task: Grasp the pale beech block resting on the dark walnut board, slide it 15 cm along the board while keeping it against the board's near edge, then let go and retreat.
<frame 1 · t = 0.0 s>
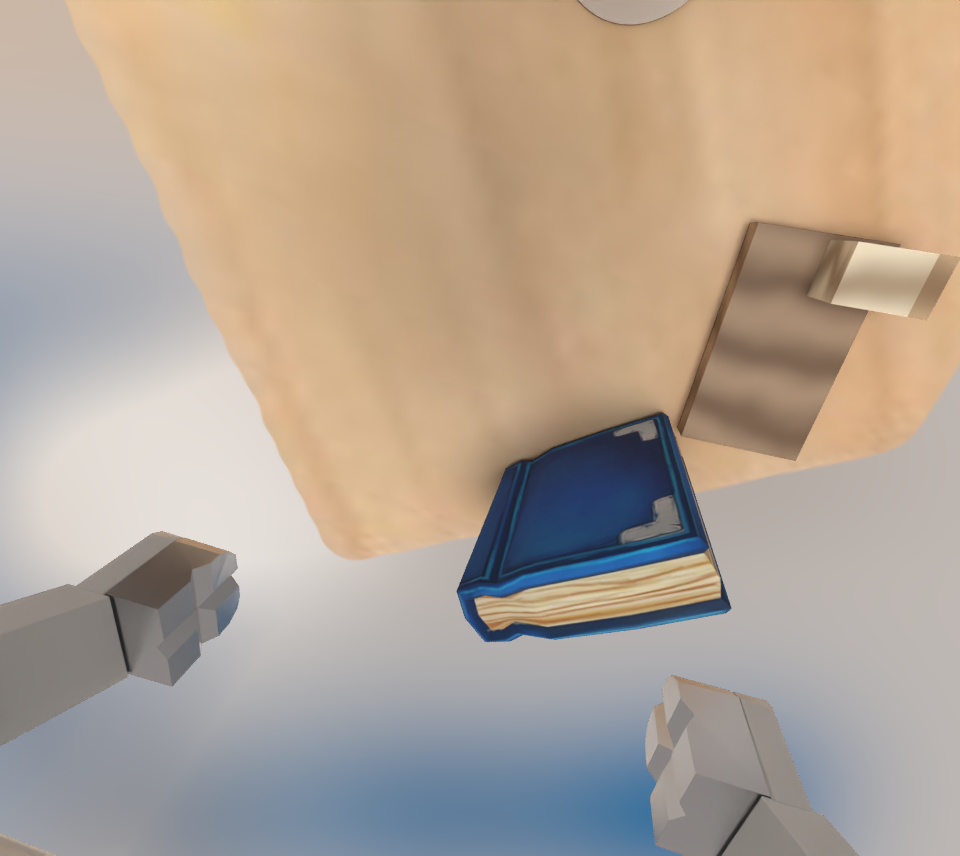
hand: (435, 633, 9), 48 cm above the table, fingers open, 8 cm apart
board: (769, 345, 50), on the table
book: (585, 461, 59), on the table
block: (864, 276, 43), point 2 cm above the table, touching board
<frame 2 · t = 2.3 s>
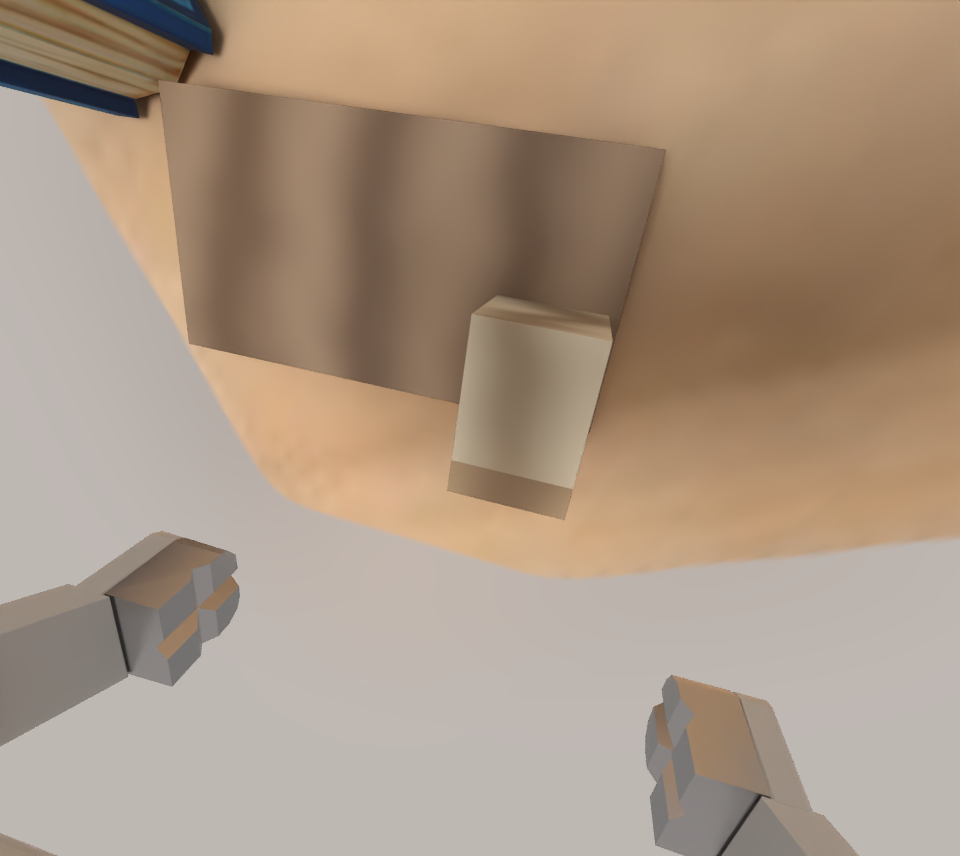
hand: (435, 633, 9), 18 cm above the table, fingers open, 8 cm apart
board: (403, 260, 24), on the table
block: (534, 389, 23), point 2 cm above the table, touching board
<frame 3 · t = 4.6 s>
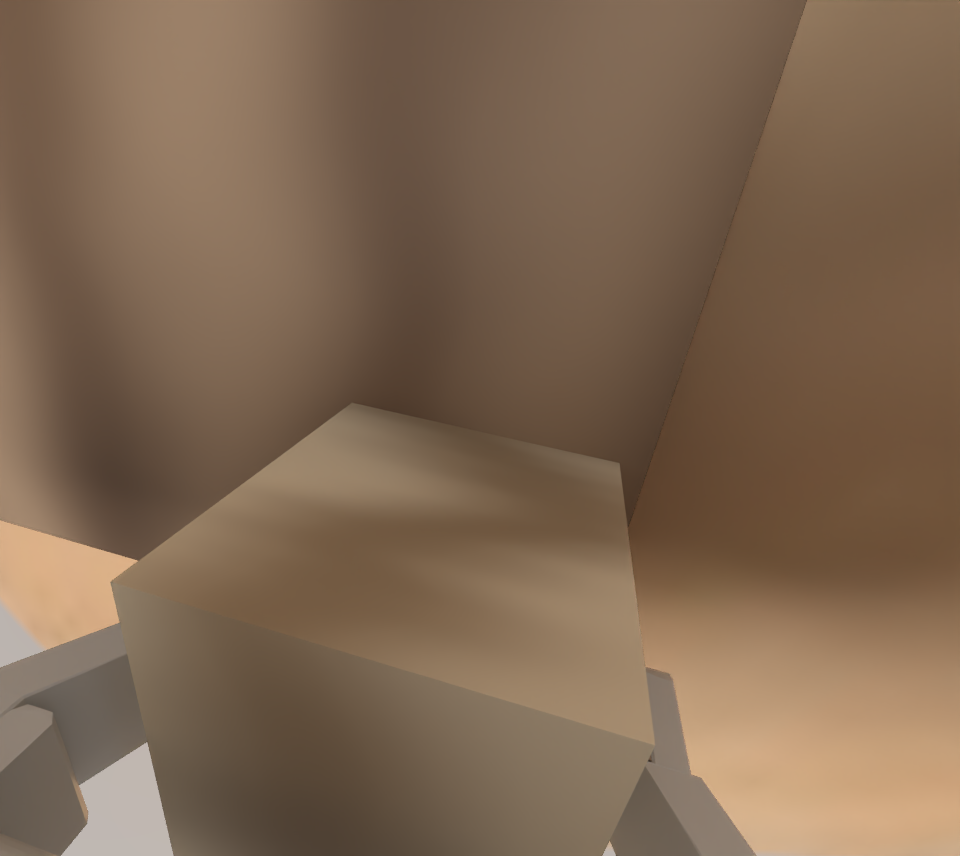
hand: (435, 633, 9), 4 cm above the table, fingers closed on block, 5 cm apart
board: (190, 307, 12), on the table
block: (453, 597, 10), point 2 cm above the table, touching board, gripper
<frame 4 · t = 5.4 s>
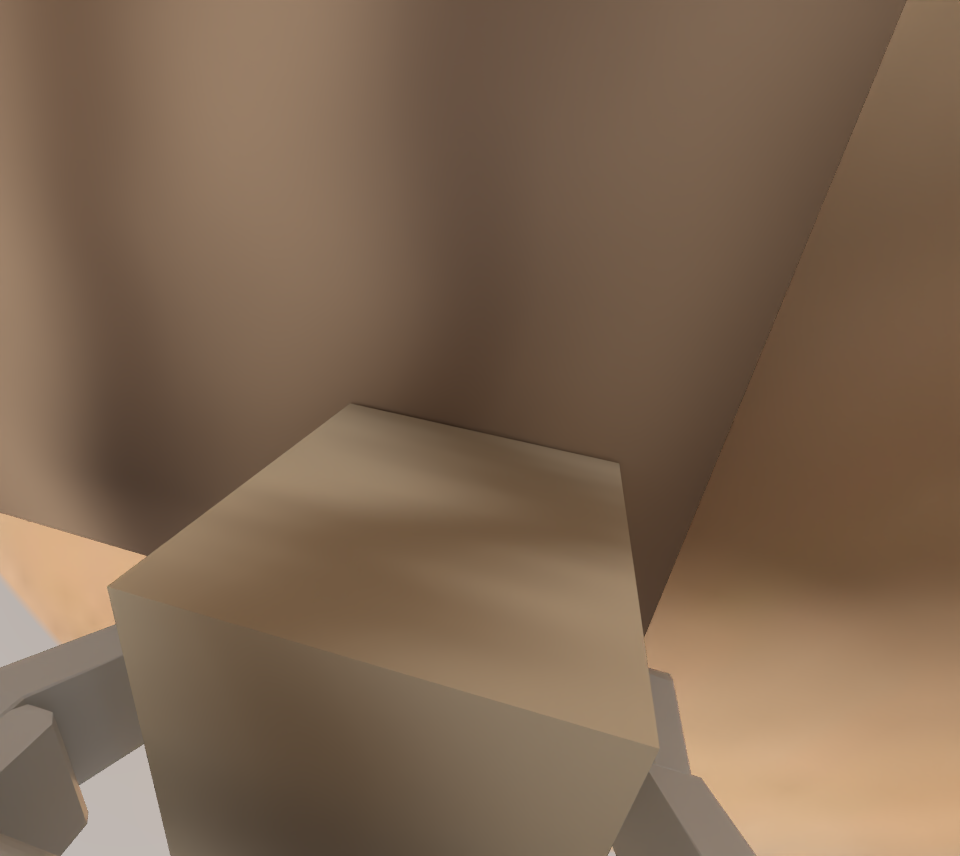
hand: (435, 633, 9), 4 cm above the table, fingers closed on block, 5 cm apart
board: (228, 307, 12), on the table
block: (452, 598, 10), point 3 cm above the table, touching gripper
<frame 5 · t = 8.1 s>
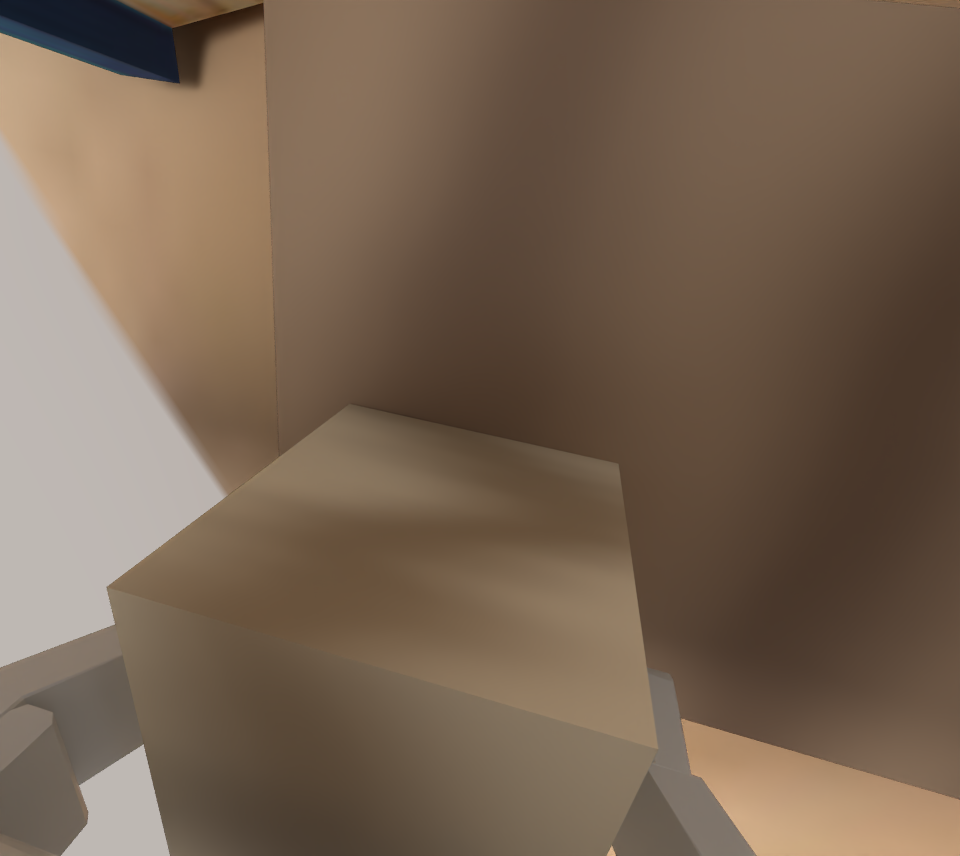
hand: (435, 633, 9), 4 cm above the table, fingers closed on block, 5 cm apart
board: (836, 440, 10), on the table
block: (452, 598, 10), point 3 cm above the table, touching gripper
when the fingers open (4 cm above the table, at t = 8.9 s): block stays where it is, resting on board.
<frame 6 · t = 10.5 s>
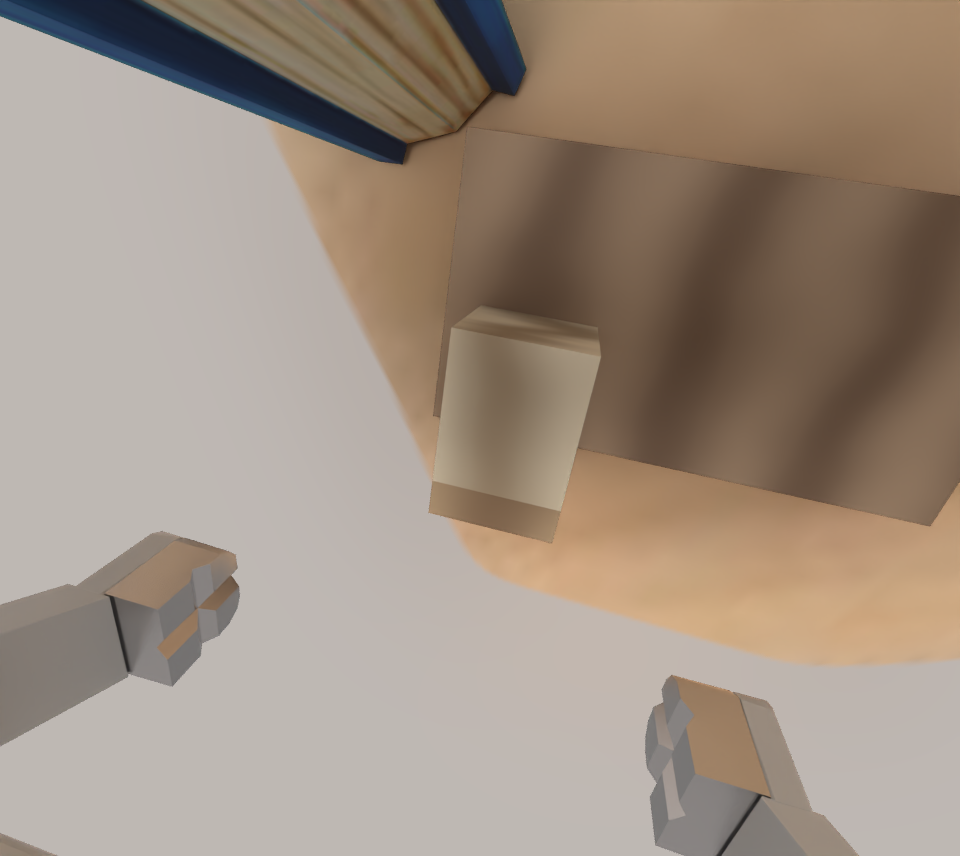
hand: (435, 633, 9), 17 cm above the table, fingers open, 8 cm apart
board: (698, 326, 21), on the table
block: (521, 403, 22), point 2 cm above the table, touching board
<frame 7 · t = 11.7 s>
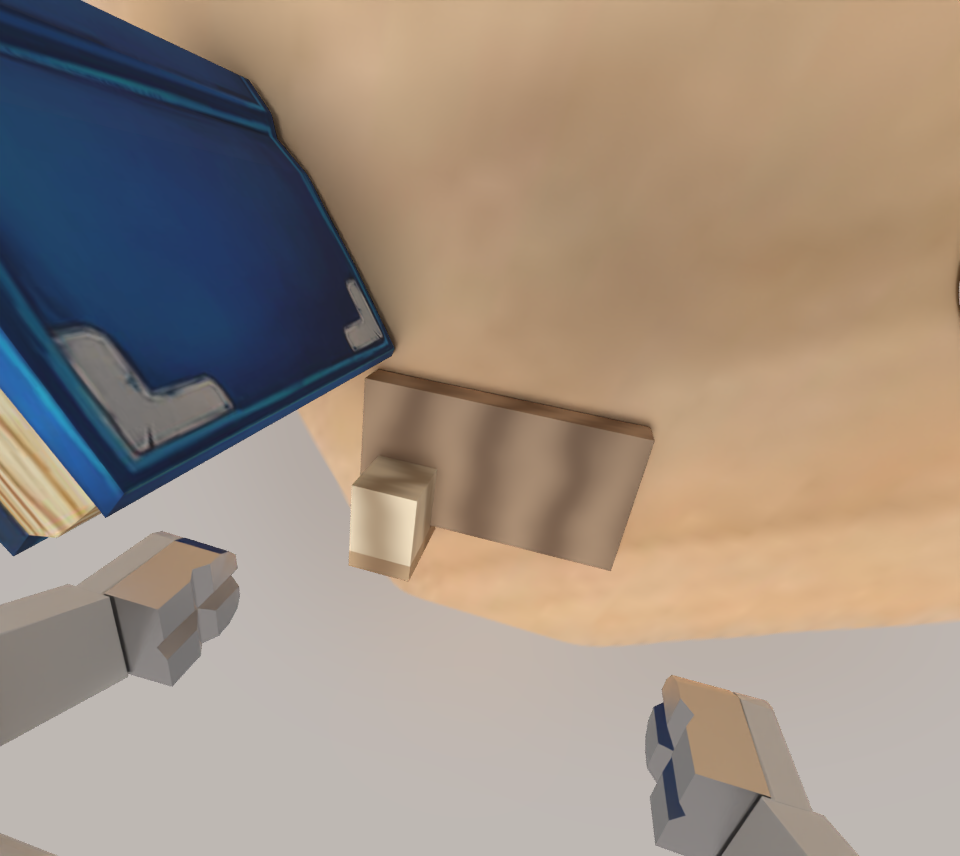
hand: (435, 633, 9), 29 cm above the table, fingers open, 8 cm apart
board: (496, 463, 40), on the table
book: (299, 238, 36), on the table
block: (403, 503, 40), point 2 cm above the table, touching board
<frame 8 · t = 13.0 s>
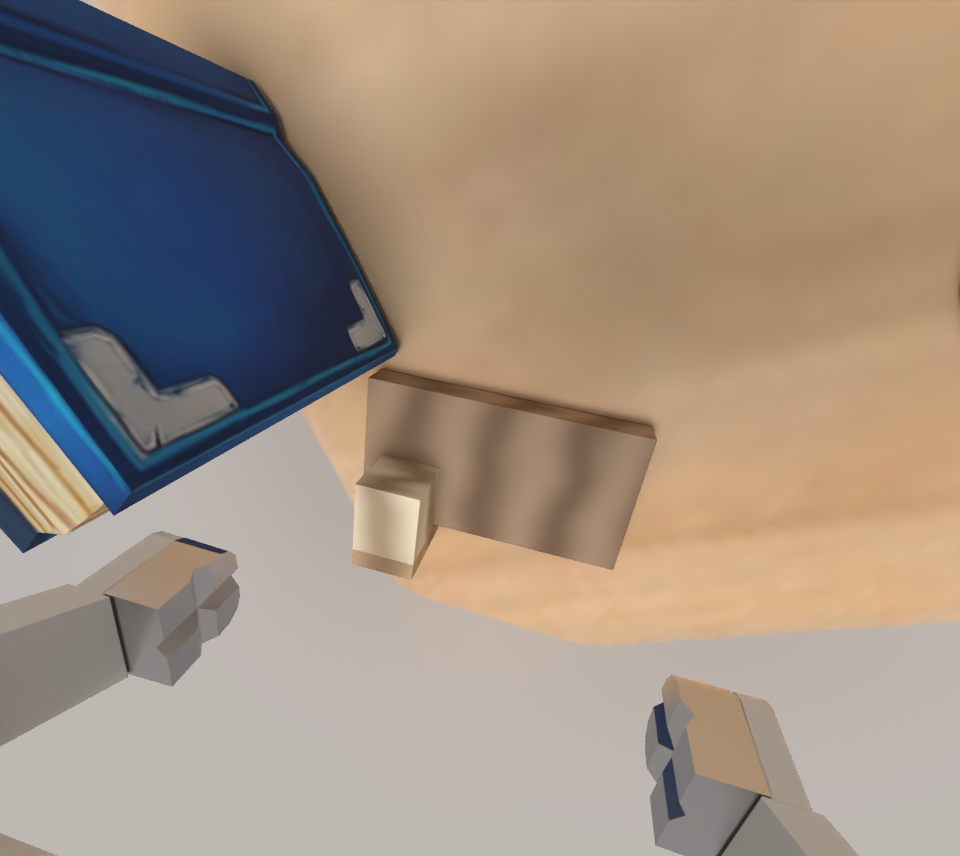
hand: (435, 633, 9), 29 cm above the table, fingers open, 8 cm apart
board: (499, 462, 40), on the table
book: (303, 238, 36), on the table
block: (407, 502, 41), point 2 cm above the table, touching board
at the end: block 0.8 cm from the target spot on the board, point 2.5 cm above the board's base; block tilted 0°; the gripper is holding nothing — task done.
